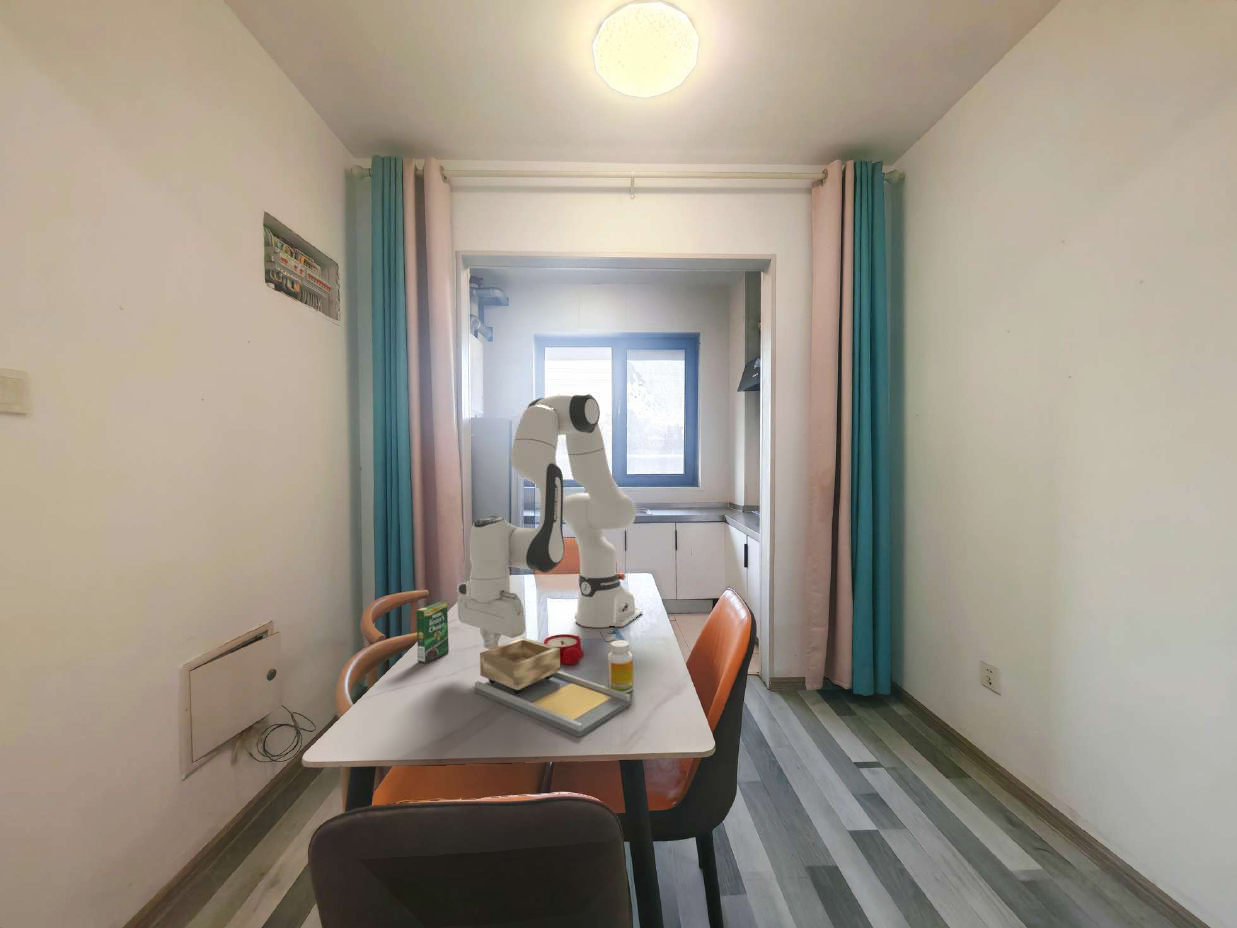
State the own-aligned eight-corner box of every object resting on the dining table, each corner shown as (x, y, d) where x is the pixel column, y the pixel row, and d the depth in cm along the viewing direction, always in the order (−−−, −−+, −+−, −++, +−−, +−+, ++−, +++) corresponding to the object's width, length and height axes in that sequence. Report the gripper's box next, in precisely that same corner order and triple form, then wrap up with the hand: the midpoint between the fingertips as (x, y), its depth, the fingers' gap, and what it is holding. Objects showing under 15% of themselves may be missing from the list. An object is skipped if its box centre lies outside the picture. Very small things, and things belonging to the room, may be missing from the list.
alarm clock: (584, 633, 134) (580, 639, 119) (584, 658, 132) (580, 668, 118) (544, 633, 133) (536, 640, 119) (544, 659, 132) (535, 669, 117)
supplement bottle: (638, 690, 107) (637, 644, 107) (616, 696, 104) (615, 649, 104) (624, 681, 112) (623, 637, 112) (603, 687, 109) (602, 642, 109)
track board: (528, 668, 119) (528, 660, 119) (630, 704, 101) (630, 694, 101) (474, 691, 107) (474, 682, 107) (579, 737, 89) (579, 725, 89)
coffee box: (424, 664, 123) (424, 610, 123) (416, 662, 124) (415, 609, 124) (449, 653, 130) (448, 602, 130) (441, 651, 131) (440, 600, 131)
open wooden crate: (523, 665, 118) (522, 637, 118) (560, 678, 111) (559, 648, 111) (480, 683, 109) (480, 652, 109) (517, 698, 101) (517, 666, 101)
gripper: (531, 591, 112) (532, 654, 112) (475, 579, 125) (475, 636, 125) (508, 597, 107) (509, 663, 107) (452, 584, 120) (453, 643, 120)
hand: (491, 648), depth 116 cm, fingers closed
